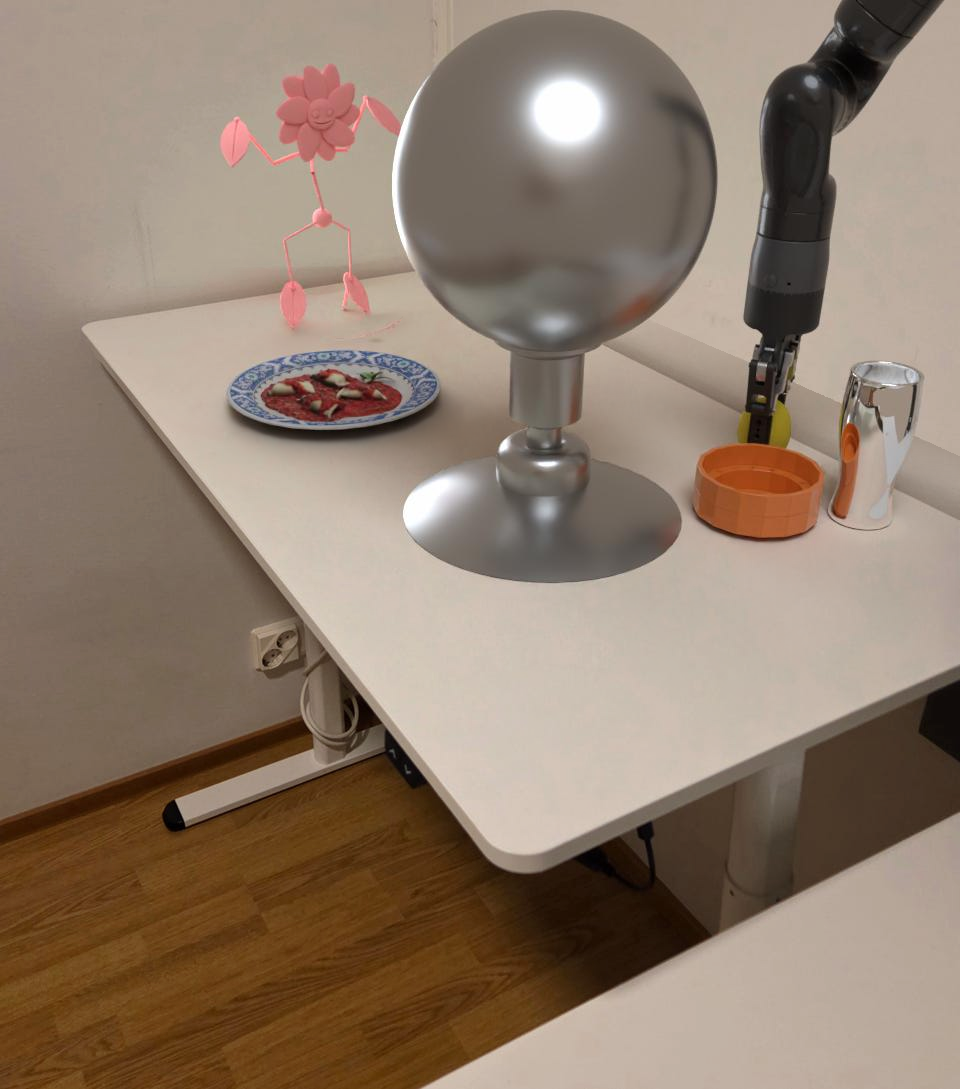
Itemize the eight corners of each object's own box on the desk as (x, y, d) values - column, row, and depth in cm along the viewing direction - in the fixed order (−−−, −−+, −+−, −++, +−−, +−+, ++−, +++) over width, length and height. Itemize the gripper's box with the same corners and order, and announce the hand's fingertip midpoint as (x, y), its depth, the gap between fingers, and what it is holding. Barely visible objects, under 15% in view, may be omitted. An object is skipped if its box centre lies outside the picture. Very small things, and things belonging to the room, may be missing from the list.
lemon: (723, 463, 120) (731, 394, 116) (754, 450, 123) (764, 382, 119) (764, 480, 116) (774, 409, 112) (796, 466, 119) (807, 397, 115)
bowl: (793, 485, 115) (800, 441, 113) (834, 541, 105) (842, 494, 102) (680, 488, 114) (685, 444, 112) (709, 545, 104) (715, 497, 101)
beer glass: (808, 514, 109) (833, 370, 102) (847, 493, 114) (873, 354, 106) (871, 539, 105) (901, 391, 98) (909, 517, 109) (941, 373, 102)
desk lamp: (570, 617, 93) (601, 29, 71) (345, 516, 109) (313, 10, 87) (733, 504, 111) (798, 10, 89) (520, 432, 127) (531, -4, 105)
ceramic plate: (290, 464, 119) (288, 439, 118) (193, 393, 137) (190, 370, 136) (482, 411, 132) (483, 388, 131) (371, 352, 150) (370, 331, 149)
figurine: (231, 326, 160) (203, 65, 143) (388, 299, 172) (379, 55, 155) (273, 356, 149) (247, 77, 132) (438, 325, 161) (434, 65, 144)
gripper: (810, 303, 103) (785, 468, 111) (838, 266, 114) (813, 418, 122) (731, 293, 105) (712, 454, 114) (765, 258, 117) (746, 407, 125)
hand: (764, 435), depth 118 cm, fingers closed on lemon, 5 cm apart
